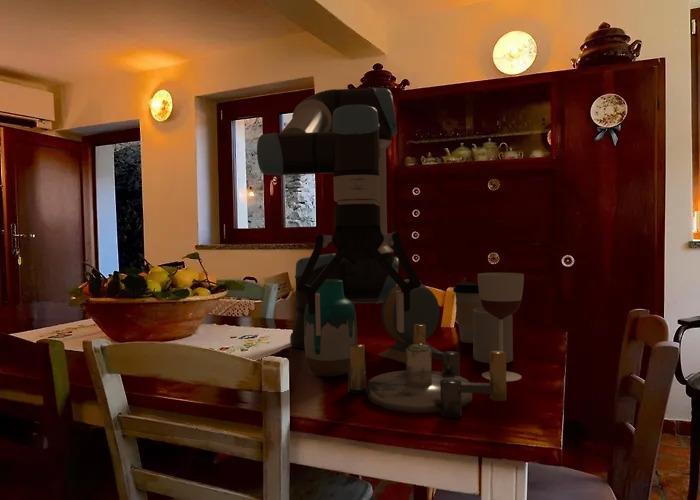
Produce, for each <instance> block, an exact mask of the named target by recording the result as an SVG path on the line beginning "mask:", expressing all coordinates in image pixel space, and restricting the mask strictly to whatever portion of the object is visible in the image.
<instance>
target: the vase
mask: <svg viewBox="0 0 700 500" xmlns="http://www.w3.org/2000/svg"><path fill="white" fill-rule="evenodd" d="M316 293H320V325H321V335H319V336H316V314H309V312H308V304H307V305H306V308H305V316H304V344H305V349H304V353H305V360H306V364H307V367H308V368H309V370H310V371H311V373H314V374H315V375H317V376H321V377H329V378H332V377H340V376H343V375H346V374H348V363H349V362H350V345H352V344H358V328H357V314H356V309H355V305H354V303H352V302H351V301H350V300H348V299H347V298H346V297H345V295H344V290H343V281H342V280H335V279H329V280H325V281H324V283H323V284H322V285H321V286H320V288H319V289H318V290H317V291H316Z"/></svg>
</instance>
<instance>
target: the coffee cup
mask: <svg viewBox="0 0 700 500" xmlns="http://www.w3.org/2000/svg"><path fill="white" fill-rule="evenodd" d="M452 292H454V295H455V296H454V297H455V308H456V317H457V318H456V319H457V324H458V329H459V338H460V342H461V343H465V344H473V310H474V309H476V308H483V306H482V304H481V299H480V295H479V288H478V281H475V282H474V281H473V282H472V281H465V282H463V281H462V282H456V283H455V286H454V287H453V288H452Z"/></svg>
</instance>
